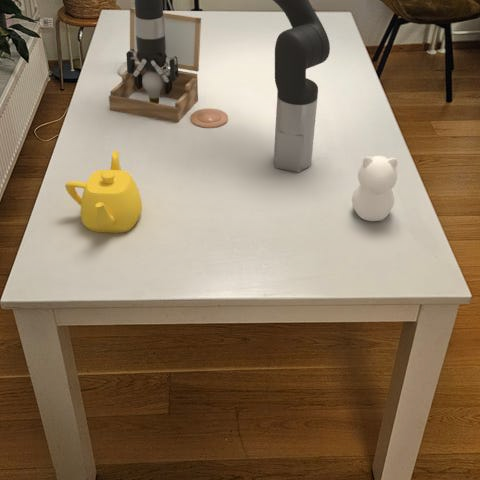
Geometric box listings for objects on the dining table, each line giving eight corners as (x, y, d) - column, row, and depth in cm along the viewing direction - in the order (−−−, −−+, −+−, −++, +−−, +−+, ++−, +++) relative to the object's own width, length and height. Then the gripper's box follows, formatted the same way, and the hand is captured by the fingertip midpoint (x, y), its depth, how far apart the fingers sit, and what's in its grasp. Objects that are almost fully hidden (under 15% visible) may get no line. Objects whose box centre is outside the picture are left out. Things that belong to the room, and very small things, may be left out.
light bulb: (155, 112, 191) (153, 77, 185) (139, 105, 194) (136, 71, 187) (169, 104, 194) (168, 70, 188) (154, 98, 197) (152, 64, 191)
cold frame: (177, 122, 186) (176, 94, 181) (110, 109, 191) (107, 82, 186) (197, 100, 197) (197, 73, 192) (133, 89, 202) (131, 62, 197)
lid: (200, 18, 184) (201, 18, 185) (130, 8, 190) (131, 7, 190) (197, 71, 191) (198, 70, 192) (129, 60, 196) (131, 59, 197)
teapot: (80, 188, 160) (74, 146, 154) (148, 190, 160) (145, 148, 154) (58, 247, 143) (50, 203, 136) (134, 249, 143) (130, 205, 136)
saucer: (220, 130, 183) (220, 128, 183) (184, 124, 186) (184, 121, 185) (233, 114, 191) (233, 111, 190) (199, 108, 193) (199, 105, 193)
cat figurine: (351, 226, 150) (360, 166, 141) (348, 193, 160) (356, 135, 151) (393, 228, 150) (405, 169, 141) (388, 195, 160) (398, 137, 151)
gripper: (118, 33, 181) (123, 92, 191) (169, 41, 177) (172, 101, 187) (132, 23, 186) (136, 81, 196) (181, 31, 183) (183, 89, 193)
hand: (153, 90), depth 192 cm, fingers open, 8 cm apart
